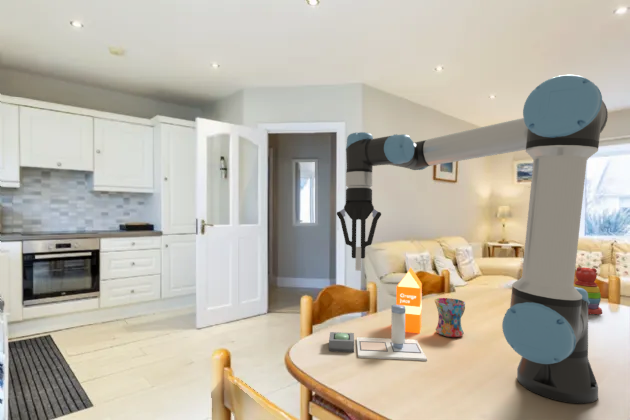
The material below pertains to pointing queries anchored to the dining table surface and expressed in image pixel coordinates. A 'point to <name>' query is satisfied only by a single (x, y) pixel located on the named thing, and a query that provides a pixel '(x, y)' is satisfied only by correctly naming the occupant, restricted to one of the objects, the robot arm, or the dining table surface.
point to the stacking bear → (589, 288)
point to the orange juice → (410, 300)
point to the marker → (398, 326)
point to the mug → (450, 316)
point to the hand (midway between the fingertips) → (358, 269)
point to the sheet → (389, 349)
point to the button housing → (341, 343)
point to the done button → (342, 336)
